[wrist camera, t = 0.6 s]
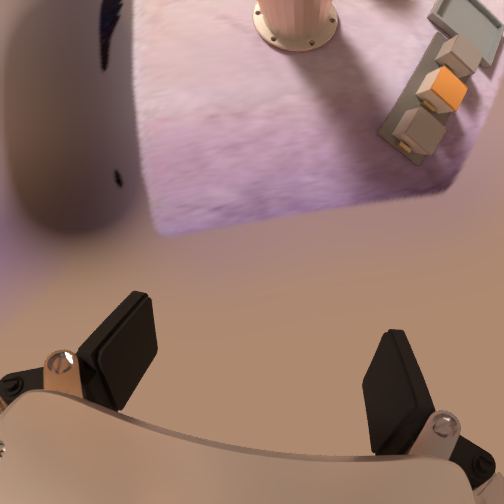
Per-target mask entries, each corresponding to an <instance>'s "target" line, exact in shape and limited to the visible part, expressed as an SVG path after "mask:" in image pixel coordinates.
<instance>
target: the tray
mask: <svg viewBox="0 0 504 504" xmlns="http://www.w3.org/2000/svg"><path fill="white" fill-rule="evenodd" d="M427 18H428V19H429V20H431V21H432V22H433V23H435V24H436V25H437V26H438V27H440V28H441V29H442V30H443V31H445V32H446V33H447V34H448V35H449V36H450V37H452V38H453V37H454V36H456V35H458V34H459V33H461V34H463V35H464V36H465V37H466V38H467V39H468V40H469V41H470V42H471V43H472V44H473V45H474V46H475V47H476V48H477V49H478V50H479V51H480V52H481V53H482V54H483V56H482V58H481V61H480V63H479V64H480V65H481V66H482V67H483V68H486V67H489V66H491V65H492V62H493V59H494V57H495V54H496V51H497V49H498V46H499V43H500V40H501V37H502V34H503V31H504V25H503V24H502V23H501V22H500V21H499V20H498V19H497V18H496V17H495V16H494V15H493V14H492V13H491V12H490V11H489V10H488V9H487V8H486V7H485V6H484V5H483V4H482V3H481V2H480V1H478V0H437V1H436V2H435V4H434V6H433V8H432V10H431V11H430V13H429V15H428V17H427Z"/></svg>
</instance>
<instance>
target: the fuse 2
mask: <svg viewBox="0 0 504 504" xmlns="http://www.w3.org/2000/svg"><path fill="white" fill-rule="evenodd" d="M482 56H483V54H482V53H481V52H480V51H479V50H478V49H477V48H476V47H475V46H474V45H473V44H472V43H471V42H470V41H469V40H468V39H467V38H466V37H465V36H464V35H463V34H461V33H459V34H458V35H456V36H454V37H453V38H451V39H449V40H448V41H446V42H444V43H443V45H442V47H441V49H440V51H439V53H438V55H437V57H436V59H435V61H437V62H438V63H439V64H440V65H441V66H443V65H446V66H447V67H448V68H449V69H450V70H451V71H453V72H454V75H455V76H456V77H457V78H461V77H464V76H467V75H470V74H474V73H475V72H476V70H477V67H478V65H479V63H480V61H481V58H482Z"/></svg>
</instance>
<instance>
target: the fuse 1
mask: <svg viewBox="0 0 504 504" xmlns="http://www.w3.org/2000/svg"><path fill="white" fill-rule="evenodd" d="M446 130H447V129H446V128H445V127H444V126H443V125H442V124H441V123H440V122H439V121H438V120H437V119H435V118H434V117H433V116H432V115H431V114H430V113H429V112H428V111H426V110H425V109H424V108H423V107H419V108H415V109H411V110H407V111H406V112H405V113H404V115H403V117H402V118H401V120H400V122H399V123H398V125H397V127H396V128H395V130H394V132H393V133H392V135H393V136H395V137H396V138H397V139H398V140H400V141H402V142H403V143H404V144H405V145H407V146H408V147H409V148H410V149H411V150H412V151H413V152H414V153H418V154H425V155H433V153H434V151H435V150H436V148H437V146H438V144H439V143H440V141H441V139H442V137H443V136H444V134H445V132H446Z"/></svg>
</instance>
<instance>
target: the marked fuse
mask: <svg viewBox="0 0 504 504" xmlns="http://www.w3.org/2000/svg"><path fill="white" fill-rule="evenodd" d="M467 89H468V88H467V87H466V86H465V85H464V84H463V83H462V82H461V81H460V80H459V79H458V78H457V77H456V76H455V75H454V74H453V73H451V72H450V71H449V70H448V69H447V68H446V67H445V66H443V67H441V68H439V69H436V70H434V71H432V72H430V73H428V74H427V75H426V77H425V79H424V80H423V82H422V84H421V86H420V87H419V89H418V91H417V93H416V95H417V96H418V97H419V98H420V99H422V100H423V101H424V100H426V101H427V102H428V103H429V104H431V105H432V106H433V107H434V108H435V112H437V113H438V114H440V113H446V112H453V111H457V109H458V107H459V106H460V104H461V102H462V100H463V98H464V95H465V93H466V91H467Z"/></svg>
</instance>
